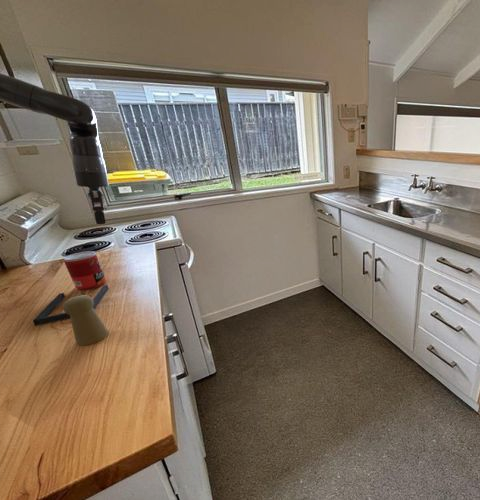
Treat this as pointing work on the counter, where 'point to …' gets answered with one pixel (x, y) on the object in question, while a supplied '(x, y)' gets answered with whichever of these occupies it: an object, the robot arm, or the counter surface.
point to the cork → (85, 320)
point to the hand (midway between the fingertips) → (100, 222)
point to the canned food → (85, 270)
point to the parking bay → (45, 318)
